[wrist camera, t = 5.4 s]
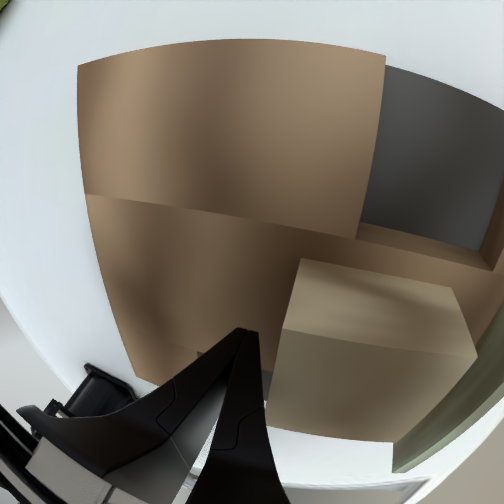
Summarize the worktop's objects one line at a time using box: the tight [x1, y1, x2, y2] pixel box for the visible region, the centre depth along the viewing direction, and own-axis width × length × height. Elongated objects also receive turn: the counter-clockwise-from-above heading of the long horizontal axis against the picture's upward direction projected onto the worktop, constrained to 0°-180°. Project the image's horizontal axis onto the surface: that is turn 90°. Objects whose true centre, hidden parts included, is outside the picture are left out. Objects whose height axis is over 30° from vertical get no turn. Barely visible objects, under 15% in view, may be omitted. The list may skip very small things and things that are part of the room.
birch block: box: [265, 258, 478, 443], centre depth 9 cm, size 6×6×4 cm
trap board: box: [77, 39, 504, 473], centre depth 11 cm, size 20×20×5 cm
